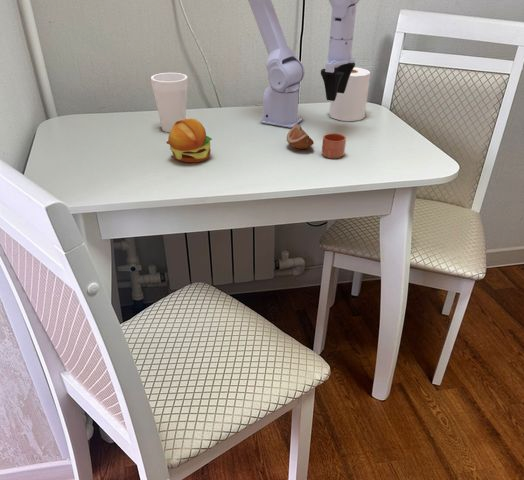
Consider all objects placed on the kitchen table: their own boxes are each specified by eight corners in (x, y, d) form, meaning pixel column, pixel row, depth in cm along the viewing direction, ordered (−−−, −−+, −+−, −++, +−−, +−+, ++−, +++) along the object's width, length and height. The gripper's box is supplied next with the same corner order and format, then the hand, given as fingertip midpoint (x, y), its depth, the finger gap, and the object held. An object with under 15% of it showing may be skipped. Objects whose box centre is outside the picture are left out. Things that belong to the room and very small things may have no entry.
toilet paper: (322, 116, 160) (326, 71, 152) (341, 108, 166) (345, 64, 158) (352, 123, 155) (358, 77, 147) (370, 115, 162) (376, 70, 154)
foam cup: (197, 127, 151) (194, 76, 142) (176, 136, 145) (172, 84, 136) (171, 120, 155) (166, 70, 146) (149, 129, 149) (143, 78, 140)
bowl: (318, 157, 136) (319, 139, 133) (325, 149, 140) (327, 132, 137) (339, 160, 134) (341, 142, 131) (346, 153, 138) (348, 135, 135)
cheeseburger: (219, 151, 137) (215, 113, 129) (203, 176, 131) (197, 139, 123) (183, 145, 139) (176, 108, 131) (165, 169, 134) (157, 132, 126)
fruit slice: (317, 153, 137) (319, 133, 134) (292, 155, 136) (293, 135, 133) (307, 141, 144) (308, 122, 140) (282, 143, 142) (283, 124, 139)
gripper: (347, 45, 128) (341, 106, 137) (365, 34, 138) (358, 91, 147) (319, 41, 130) (315, 102, 139) (338, 31, 140) (333, 88, 149)
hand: (335, 96), depth 143 cm, fingers open, 7 cm apart
